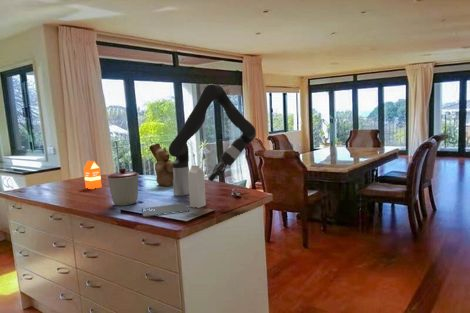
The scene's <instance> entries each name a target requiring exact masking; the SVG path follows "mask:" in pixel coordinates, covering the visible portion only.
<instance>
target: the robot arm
mask: <svg viewBox="0 0 470 313" xmlns="http://www.w3.org/2000/svg"><path fill="white" fill-rule="evenodd" d="M213 101H215V102H216V103H218V104H219V105H220V106H221V107H222V109H223V110H224V112H225V115H226V117H228V119H229V121H230V122H231V123H232V124H233V126H235V127H236V128H238V129H239V130H240V132H241V135H240V136H239V137H237V138H235V139H234V141H233V142H232V143H230V145H229V146H228V147H227V148H226V149H225V151H224V152H223V153H222V154H221V156H219V159H220V160H221V161H219V162H218V163H216V164H215V166H214V168H213V170H212V173H211V174H210V175H209V177H208V180H209V181H210V182H213V181H214V180H215V178H216V177H217V176H220V175H221V174H223V173H224V172H225V171H226V168H227V166H229V167H231V166H232V165H233V164H234V162H236V160H237V159H238V157H240V155H241V153H242V152H243V151H244V150H245V149H246V147H247V146H248V145H249V144H251V143H252V142H253V140H255V137H256V136H257V133H256V127H255V126H254V125H253V124H252V123H251V122H250V121H249V120H248V119H246V117H245V116H244V115H243V114H242V113H241V112H240V110H239V109H238V108H237V107H236V106H235V104H234V103H233V102H232V100H231V99H230V97H229V96H228V95H227V92H226V91H225V90H224V88H223V87H222V86H221V85H219V84H215V83H214V84H213V83H209V84H207V85H206V86H205V87H204V88H203V90H202V93H201V95H200V97H199V98H198V101H197V103H196V105H195V106H194V107H193V109H192V111H191V113H190V114H189V116H188V117H187V119H186V121H185V123H184V124H183V125H182V127H181V129H180V131H179V132H178V134H177V135H176V136H175V137H174V139H173V140H172V142H170V144H169V146H168V153H169V155H170V157H173V158H174V157H175V160H174V161H173V162H174V163H173V175H174V180H173V185H172V190H173V192H172V193H173V196H179V197H181V196H183V197H184V196H188V195H189V181H188V171H189V161H190V157H189V156H190V155H189V152H190V151H189V146H188V144H187V142H188V141H189V140H190V139H191V138H192V137H194V136H195V134H197V133H198V132H199V130H200V129H201V127H202V126H203V125H204V123H205V120H206V116H207V111H208V109H209V107H210V105H212V103H213Z"/></svg>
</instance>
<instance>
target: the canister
mask: <svg viewBox="0 0 470 313" xmlns="http://www.w3.org/2000/svg"><path fill="white" fill-rule="evenodd" d="M118 170H119V172H114V173H111V174H109V175H108V176H106V177H105V178H106V179H107V182H108V186H109V187H108V188H109V191H110V195H111V200H112V202H113V205H115V206H118V207H119V206H120V207H123V206H130V205H133V204H135V203H137V201H138V199H139V198H138V196H139V176H140V173H138V172H136V171H127V170H126V168H125V167H120V168H119V169H118Z"/></svg>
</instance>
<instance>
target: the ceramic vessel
mask: <svg viewBox="0 0 470 313" xmlns="http://www.w3.org/2000/svg"><path fill="white" fill-rule="evenodd" d="M148 148H149V151H150V152H151V153H152V155H153V157H154V158H155V160H156V163H155V165H154V170H155V173H156V179H155V180H156V183H157V184H158V185H159V186H162V187H165V186H166V187H169V186H170V187H171V186H173V180H174V175H173V163H174V161H171V160H170V157H171V155H170V153H169V150H167V149H166V147H163V148H162V147H161V144H160V143H159V142H158V143H153V144H151V145H150V146H149V147H148Z"/></svg>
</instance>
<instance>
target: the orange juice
mask: <svg viewBox="0 0 470 313" xmlns="http://www.w3.org/2000/svg"><path fill="white" fill-rule="evenodd" d="M83 173H84V183H85V189H87V188H88V189H89V190H94V189H95V188H96V189H100V188H102V187H103V186H102V178H101V175H102V174H101V168H100V166H99V165H98V164H97V163H96V161H95V160H87V161H86V164H85V165H84V167H83Z"/></svg>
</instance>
